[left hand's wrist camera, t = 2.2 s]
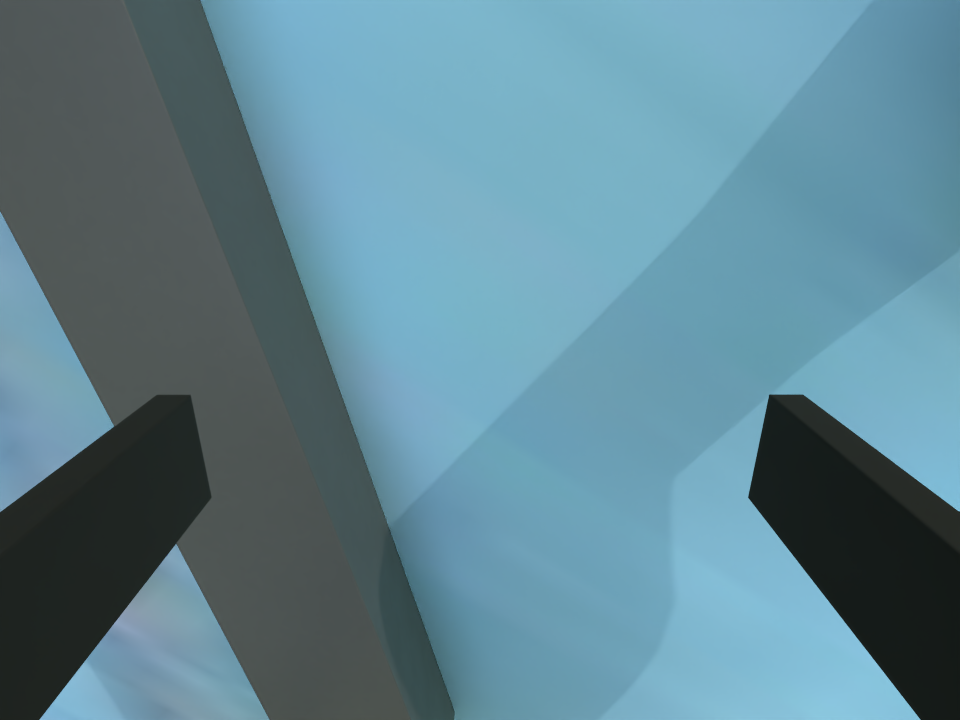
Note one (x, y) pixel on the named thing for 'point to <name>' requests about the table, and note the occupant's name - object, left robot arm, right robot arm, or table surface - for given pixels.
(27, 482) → the table surface
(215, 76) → the wide block
